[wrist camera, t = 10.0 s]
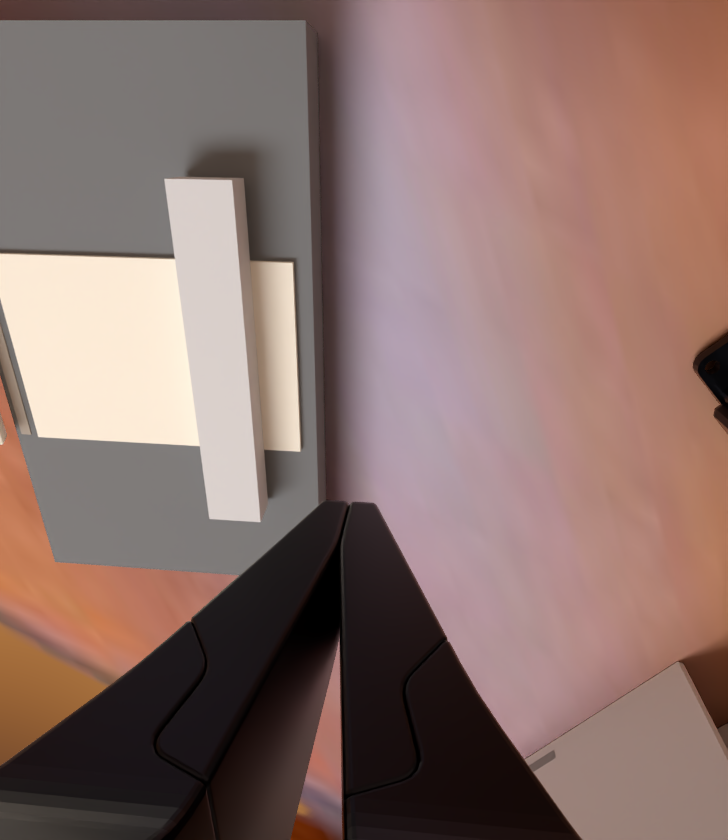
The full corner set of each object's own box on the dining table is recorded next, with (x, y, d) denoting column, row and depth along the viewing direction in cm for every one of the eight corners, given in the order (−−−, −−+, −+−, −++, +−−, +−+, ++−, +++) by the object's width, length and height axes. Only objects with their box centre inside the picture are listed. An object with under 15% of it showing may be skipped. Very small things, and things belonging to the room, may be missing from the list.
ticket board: (317, 33, 17) (295, 8, 14) (327, 550, 26) (315, 604, 23) (-53, 32, 18) (-149, 9, 15) (79, 534, 27) (36, 583, 24)
